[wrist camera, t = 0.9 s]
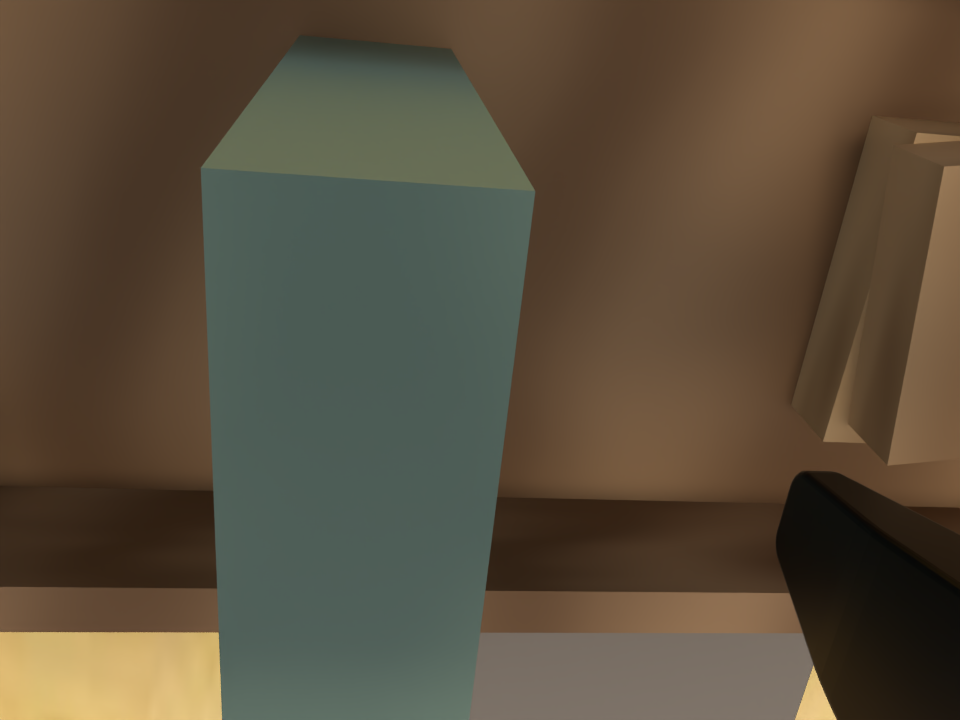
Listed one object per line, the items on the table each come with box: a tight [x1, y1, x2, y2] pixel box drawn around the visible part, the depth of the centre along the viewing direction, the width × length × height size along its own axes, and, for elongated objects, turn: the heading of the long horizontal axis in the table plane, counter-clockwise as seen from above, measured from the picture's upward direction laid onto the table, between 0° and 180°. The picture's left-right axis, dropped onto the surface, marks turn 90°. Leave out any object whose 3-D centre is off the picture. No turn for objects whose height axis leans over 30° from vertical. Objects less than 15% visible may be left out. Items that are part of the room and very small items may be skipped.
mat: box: [469, 633, 813, 720], centre depth 22 cm, size 10×9×1 cm
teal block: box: [201, 35, 535, 720], centre depth 12 cm, size 2×7×9 cm, turn 175°
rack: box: [0, 0, 960, 633], centre depth 15 cm, size 24×13×6 cm, turn 84°
